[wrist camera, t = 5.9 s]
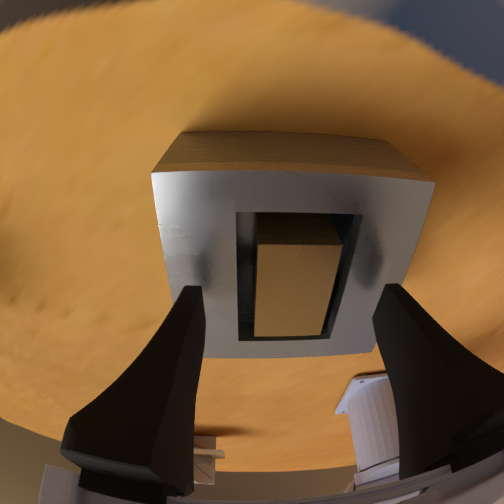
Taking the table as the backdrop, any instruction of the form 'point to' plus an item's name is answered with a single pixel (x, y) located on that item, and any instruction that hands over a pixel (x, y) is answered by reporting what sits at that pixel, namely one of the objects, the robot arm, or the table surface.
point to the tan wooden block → (293, 271)
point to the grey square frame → (286, 200)
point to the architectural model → (205, 459)
